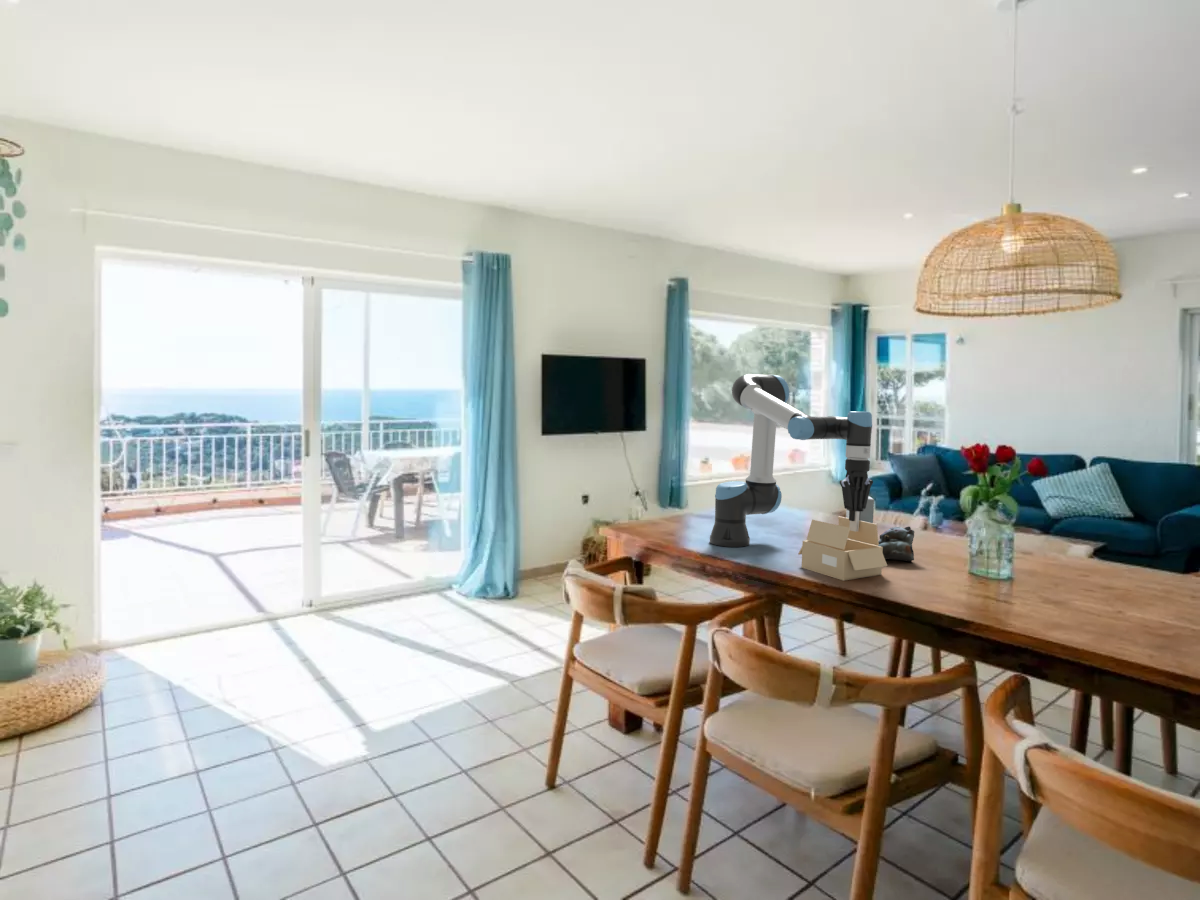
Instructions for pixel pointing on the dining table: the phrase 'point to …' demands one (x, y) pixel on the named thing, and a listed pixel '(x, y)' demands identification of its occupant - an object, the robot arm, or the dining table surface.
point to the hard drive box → (865, 512)
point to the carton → (843, 559)
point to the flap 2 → (862, 531)
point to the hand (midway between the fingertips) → (853, 530)
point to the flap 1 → (828, 534)
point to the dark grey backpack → (897, 544)
